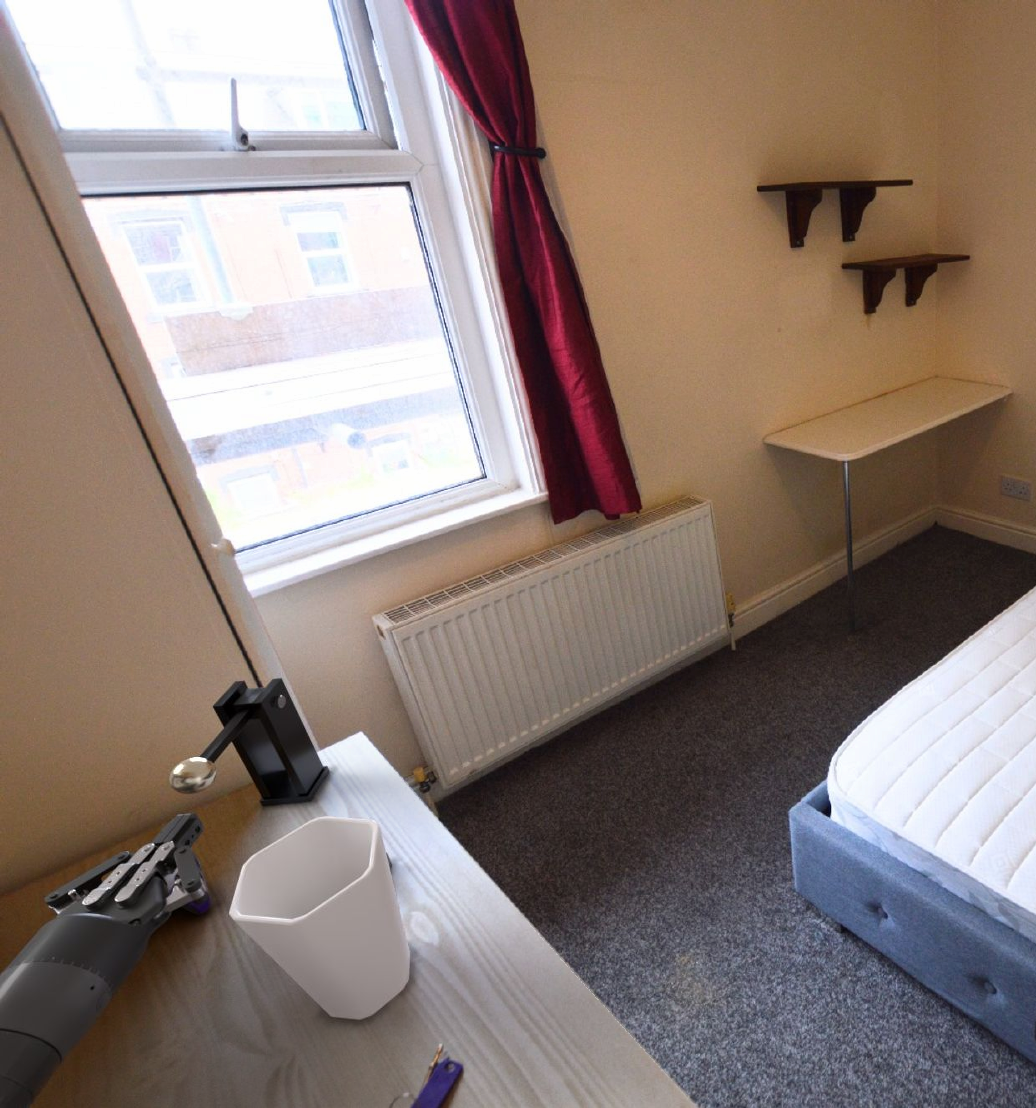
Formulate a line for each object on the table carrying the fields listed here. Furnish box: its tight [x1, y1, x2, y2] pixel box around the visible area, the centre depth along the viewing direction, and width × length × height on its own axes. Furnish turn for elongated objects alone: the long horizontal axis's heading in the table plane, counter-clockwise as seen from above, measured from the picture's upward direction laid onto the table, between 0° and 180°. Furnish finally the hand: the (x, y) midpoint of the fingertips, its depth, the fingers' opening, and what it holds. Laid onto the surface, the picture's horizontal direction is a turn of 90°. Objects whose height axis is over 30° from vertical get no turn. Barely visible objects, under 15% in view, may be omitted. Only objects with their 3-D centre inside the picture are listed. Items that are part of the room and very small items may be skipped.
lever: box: [168, 687, 265, 795], centre depth 78 cm, size 14×4×4 cm, turn 8°
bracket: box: [212, 677, 331, 807], centre depth 86 cm, size 5×6×16 cm
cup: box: [228, 815, 411, 1021], centre depth 65 cm, size 11×10×17 cm
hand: (191, 819), depth 72 cm, fingers closed
